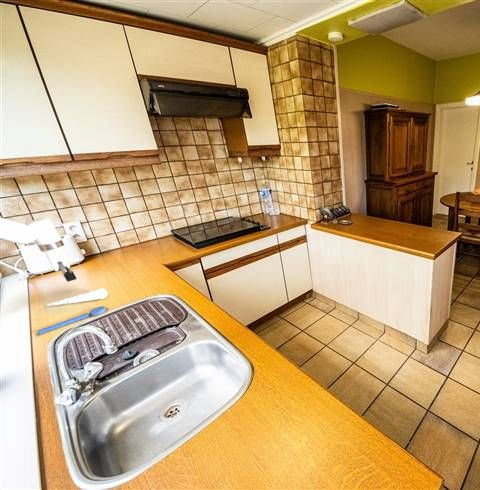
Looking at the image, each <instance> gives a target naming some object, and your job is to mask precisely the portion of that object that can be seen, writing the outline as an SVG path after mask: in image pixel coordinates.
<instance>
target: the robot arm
mask: <svg viewBox="0 0 480 490" xmlns="http://www.w3.org/2000/svg"><path fill="white" fill-rule="evenodd" d="M0 240H1V241H3V242H5V243H6V242H7V243H13V244H19V245H27V244H31V243H33V242H35V244H36V245H37V247H38V249H39V250H40V252H41V253H45V255H46V257H47V259H48V261H49V263H50V265H51V266H52V269H53V270H54V272H59V270H60V272H61V274H62V275H63V278H64V279H65V280H66V282H68V283H69V282H72V281H75V280H77V276H76V274H75V273H74V271H73V270H72V268H71V261H70V259H69V257H68V255H67V254H66V252H65V250H64V248H65V247H66V245H65V243H64V241H63V239H62V238H61V236H60V234H59V232H58V231H57V229H56V228H55V225H54V224H53V221H52V220H50V219H49V218H39V219H38V218H37V219H32V220H30V221H27V222H22V223H19V222H17V221H14V220H13V221H12V220H9V219H6V218H3V217H0Z"/></svg>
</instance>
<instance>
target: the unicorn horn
mask: <svg viewBox="0 0 480 490" xmlns="http://www.w3.org/2000/svg"><path fill="white" fill-rule="evenodd" d="M107 296H108V291H107V290H106V289H105V288H98V289H95V290H90V291H87V292H84V293H80V294H77V295H74V296H70V297H67V298H63V299H60V300H58V301H57V300H56V301H54V302H50V303H48V304H45V307H52V306H61V305H68V304H76V303H83V302H90V301H96V300H103V299H106V298H107Z"/></svg>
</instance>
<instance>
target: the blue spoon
mask: <svg viewBox="0 0 480 490" xmlns="http://www.w3.org/2000/svg"><path fill="white" fill-rule="evenodd" d="M106 311H107V308H106V307H105V306H104V305H102V306H98V307H94V308H92V309H91V310H90V311H89V312H86V313H83V314H80V315H77V316H74V317H71V318H69V319H66V320H62V321H61V322H58V323H55V324H51V325H49V326H46V327H43V328H41V329H38V330H37V333H38V335H42V334H45V333H47V332H50V331H53V330H56V329H59V328H61V327H64V326H67V325H69V324H72V323H75V322H79V321H80V320H81V321H82V320H83V319H86V318H89V317H90V316H91V317H96V316H100V315H101V314H104V313H106Z"/></svg>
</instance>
